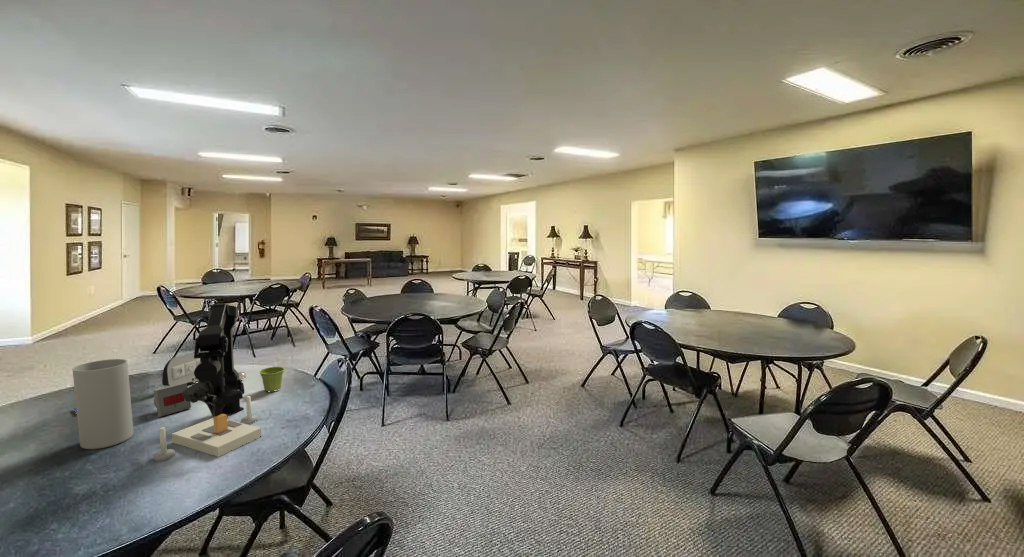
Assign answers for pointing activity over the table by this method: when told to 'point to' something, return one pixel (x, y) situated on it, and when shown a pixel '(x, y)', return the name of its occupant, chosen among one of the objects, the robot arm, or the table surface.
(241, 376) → the metal grooved wheel
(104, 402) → the cylinder vase
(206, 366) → the robot arm
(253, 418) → the cable post
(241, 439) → the breaker board
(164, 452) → the cable post
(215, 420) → the switch
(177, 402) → the voltmeter
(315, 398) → the table surface
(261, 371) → the plant pot
